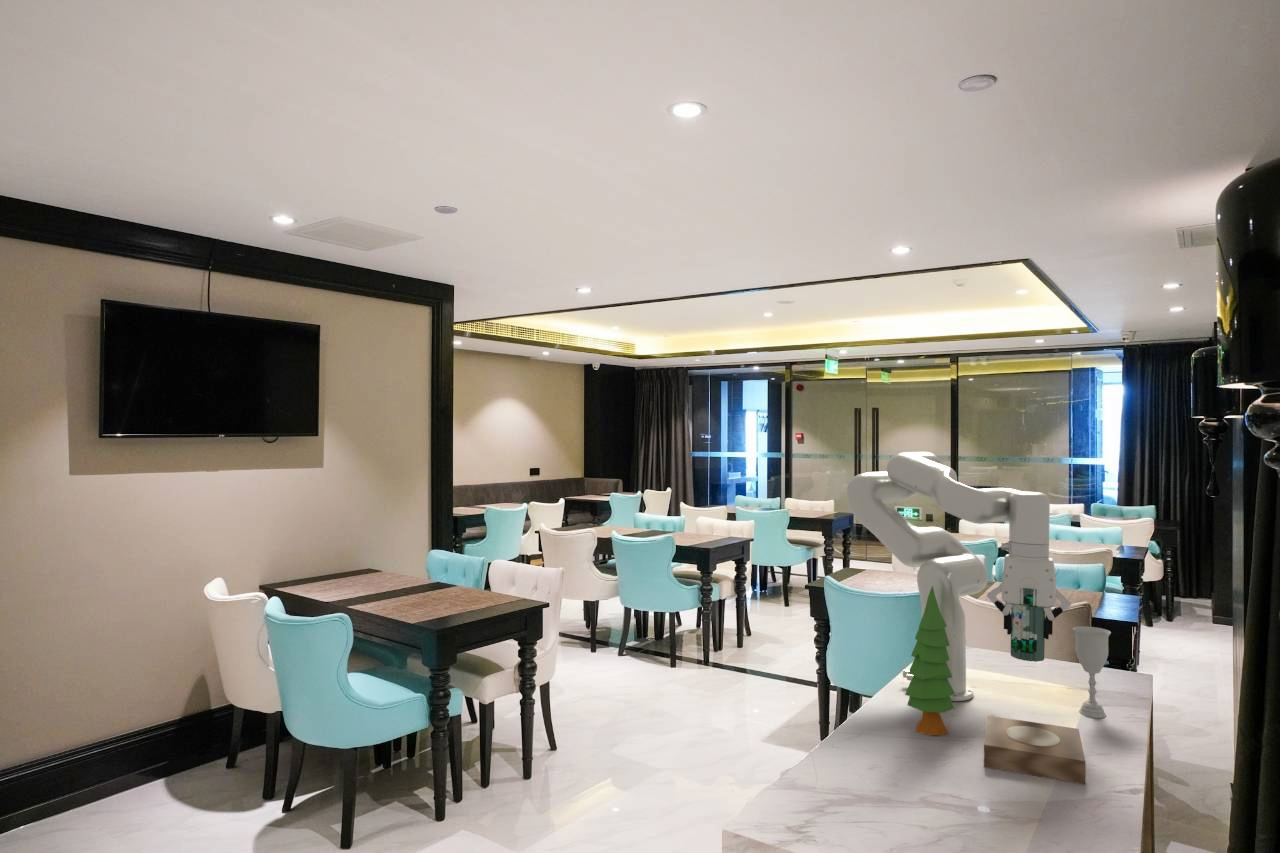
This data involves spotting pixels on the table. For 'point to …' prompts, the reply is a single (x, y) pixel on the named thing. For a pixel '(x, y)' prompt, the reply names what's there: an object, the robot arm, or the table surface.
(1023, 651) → the can
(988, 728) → the walnut base
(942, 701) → the decorative tree
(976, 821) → the table surface
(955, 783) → the table surface
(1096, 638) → the chalice
